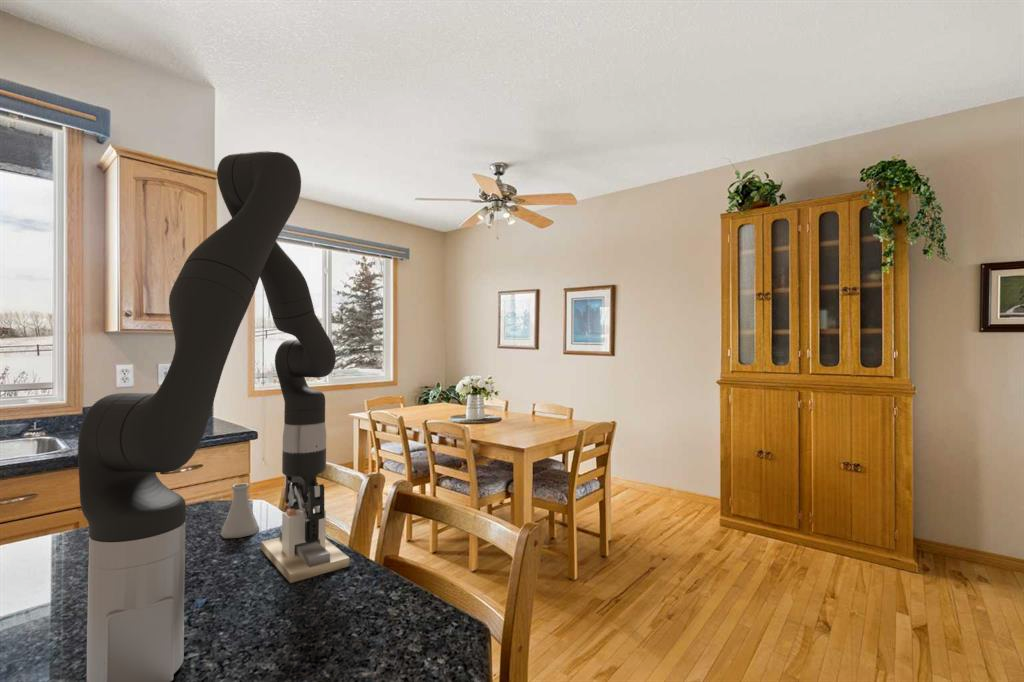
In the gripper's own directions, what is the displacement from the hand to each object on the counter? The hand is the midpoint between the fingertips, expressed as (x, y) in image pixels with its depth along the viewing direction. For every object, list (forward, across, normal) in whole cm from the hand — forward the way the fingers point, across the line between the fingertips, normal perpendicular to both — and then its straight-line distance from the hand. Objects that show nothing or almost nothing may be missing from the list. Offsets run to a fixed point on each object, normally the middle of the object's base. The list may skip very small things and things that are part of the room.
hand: (303, 534), depth 92 cm
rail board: (+4, 0, 0) cm, 4 cm away
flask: (+4, +21, +6) cm, 22 cm away
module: (+3, 0, 0) cm, 3 cm away
